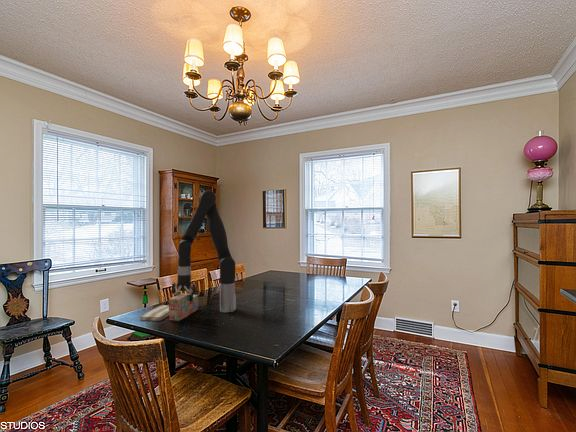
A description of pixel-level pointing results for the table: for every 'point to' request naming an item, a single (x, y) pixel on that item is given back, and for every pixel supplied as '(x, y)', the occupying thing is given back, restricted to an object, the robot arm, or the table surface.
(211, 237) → the robot arm
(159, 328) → the table surface
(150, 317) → the birch board
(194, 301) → the stack of blocks
